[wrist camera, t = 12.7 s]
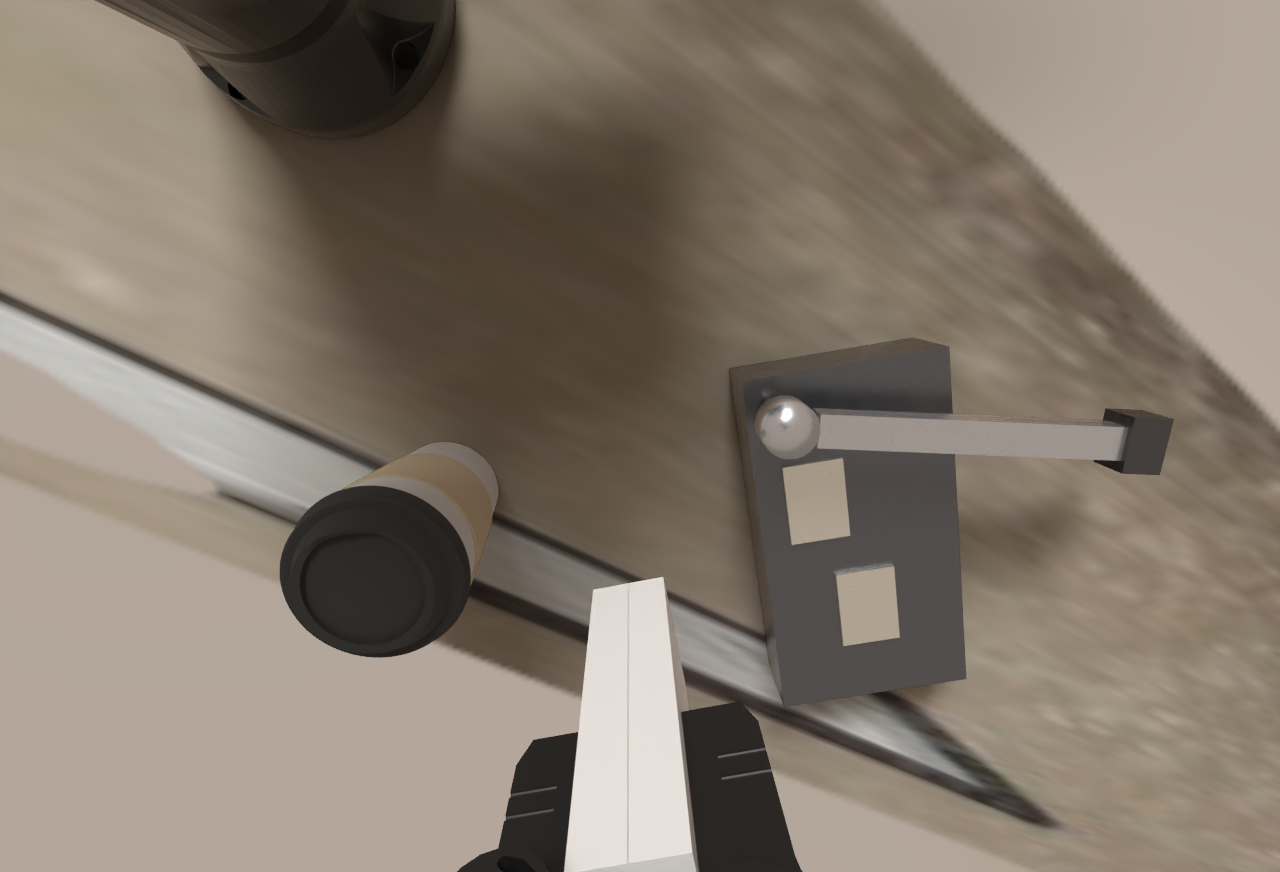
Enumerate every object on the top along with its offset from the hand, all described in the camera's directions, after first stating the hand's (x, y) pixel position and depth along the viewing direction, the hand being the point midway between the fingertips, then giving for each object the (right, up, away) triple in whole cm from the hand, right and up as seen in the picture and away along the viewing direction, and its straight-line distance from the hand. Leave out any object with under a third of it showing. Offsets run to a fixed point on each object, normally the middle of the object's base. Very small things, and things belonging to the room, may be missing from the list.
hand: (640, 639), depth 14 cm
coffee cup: (-13, +1, +31) cm, 34 cm away
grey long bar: (+17, +5, +22) cm, 28 cm away
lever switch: (+13, -1, +32) cm, 34 cm away
